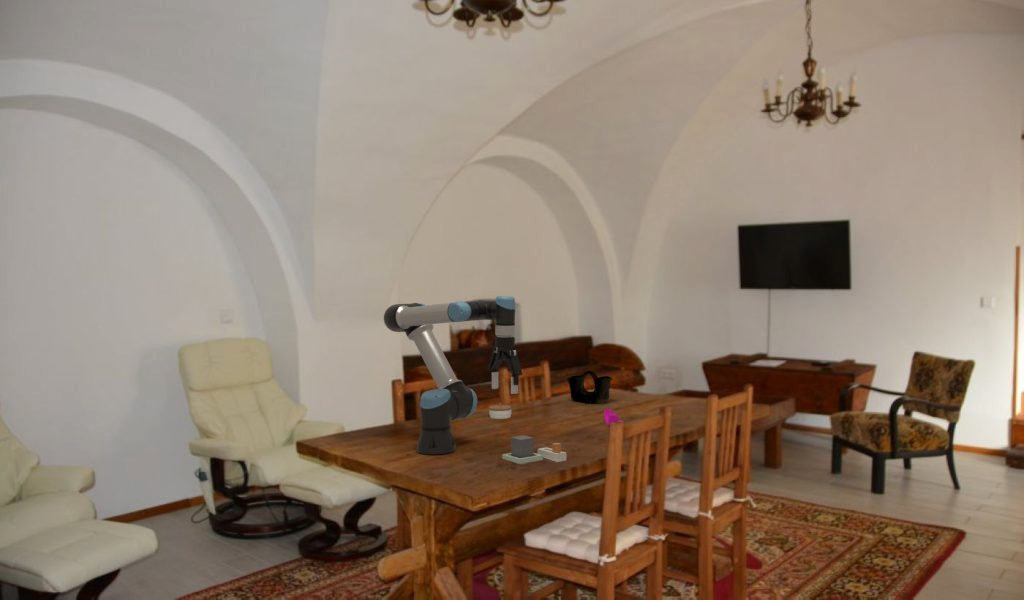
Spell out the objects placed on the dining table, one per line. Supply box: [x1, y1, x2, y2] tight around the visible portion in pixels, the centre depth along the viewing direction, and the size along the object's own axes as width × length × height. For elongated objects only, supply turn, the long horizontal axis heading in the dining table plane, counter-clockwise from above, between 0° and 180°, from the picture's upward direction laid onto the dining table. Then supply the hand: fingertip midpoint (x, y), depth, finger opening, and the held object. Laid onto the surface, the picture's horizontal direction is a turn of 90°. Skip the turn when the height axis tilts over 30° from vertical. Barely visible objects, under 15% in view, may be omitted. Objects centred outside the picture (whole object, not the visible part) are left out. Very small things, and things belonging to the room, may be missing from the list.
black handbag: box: [566, 370, 613, 405], centre depth 405 cm, size 25×11×20 cm, turn 59°
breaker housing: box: [536, 447, 567, 463], centre depth 293 cm, size 4×12×3 cm, turn 36°
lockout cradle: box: [501, 452, 544, 466], centre depth 291 cm, size 11×11×2 cm
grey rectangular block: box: [510, 435, 535, 458], centre depth 291 cm, size 6×6×8 cm
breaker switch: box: [551, 442, 562, 453], centre depth 290 cm, size 2×2×3 cm
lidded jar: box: [488, 402, 512, 420], centre depth 369 cm, size 11×11×9 cm
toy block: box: [603, 409, 624, 427], centre depth 351 cm, size 15×6×8 cm, turn 2°
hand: (504, 391), depth 301 cm, fingers open, 13 cm apart
